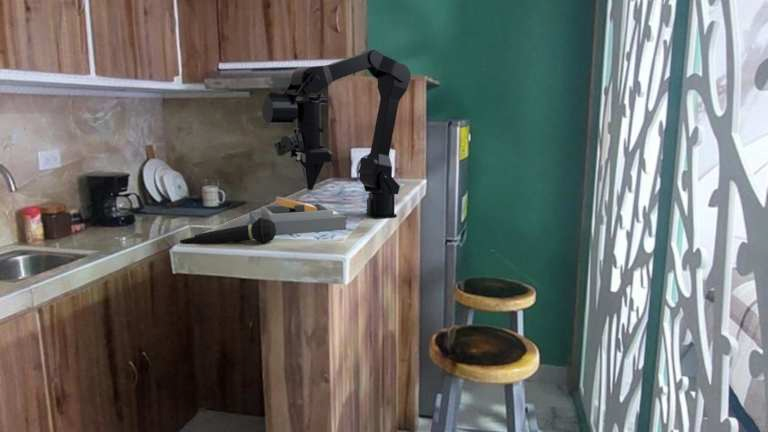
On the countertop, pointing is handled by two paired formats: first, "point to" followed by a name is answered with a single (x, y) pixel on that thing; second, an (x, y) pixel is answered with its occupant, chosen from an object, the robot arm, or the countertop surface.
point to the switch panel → (301, 219)
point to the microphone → (238, 234)
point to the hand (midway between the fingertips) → (309, 189)
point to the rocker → (292, 204)
